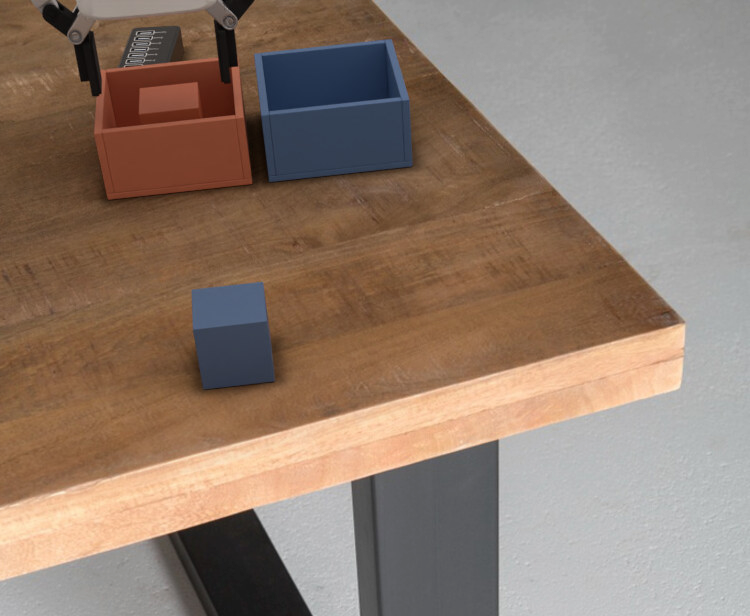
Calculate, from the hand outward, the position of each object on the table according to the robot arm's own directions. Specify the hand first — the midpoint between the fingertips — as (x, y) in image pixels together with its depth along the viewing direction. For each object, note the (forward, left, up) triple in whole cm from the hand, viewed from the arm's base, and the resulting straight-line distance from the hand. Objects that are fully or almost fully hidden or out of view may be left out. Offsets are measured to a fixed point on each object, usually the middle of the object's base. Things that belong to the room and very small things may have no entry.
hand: (161, 82), depth 106 cm
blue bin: (+13, +3, -8) cm, 15 cm away
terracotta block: (0, +3, -7) cm, 8 cm away
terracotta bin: (0, +3, -8) cm, 8 cm away
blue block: (+4, -27, -8) cm, 28 cm away
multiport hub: (-2, +17, -8) cm, 18 cm away
